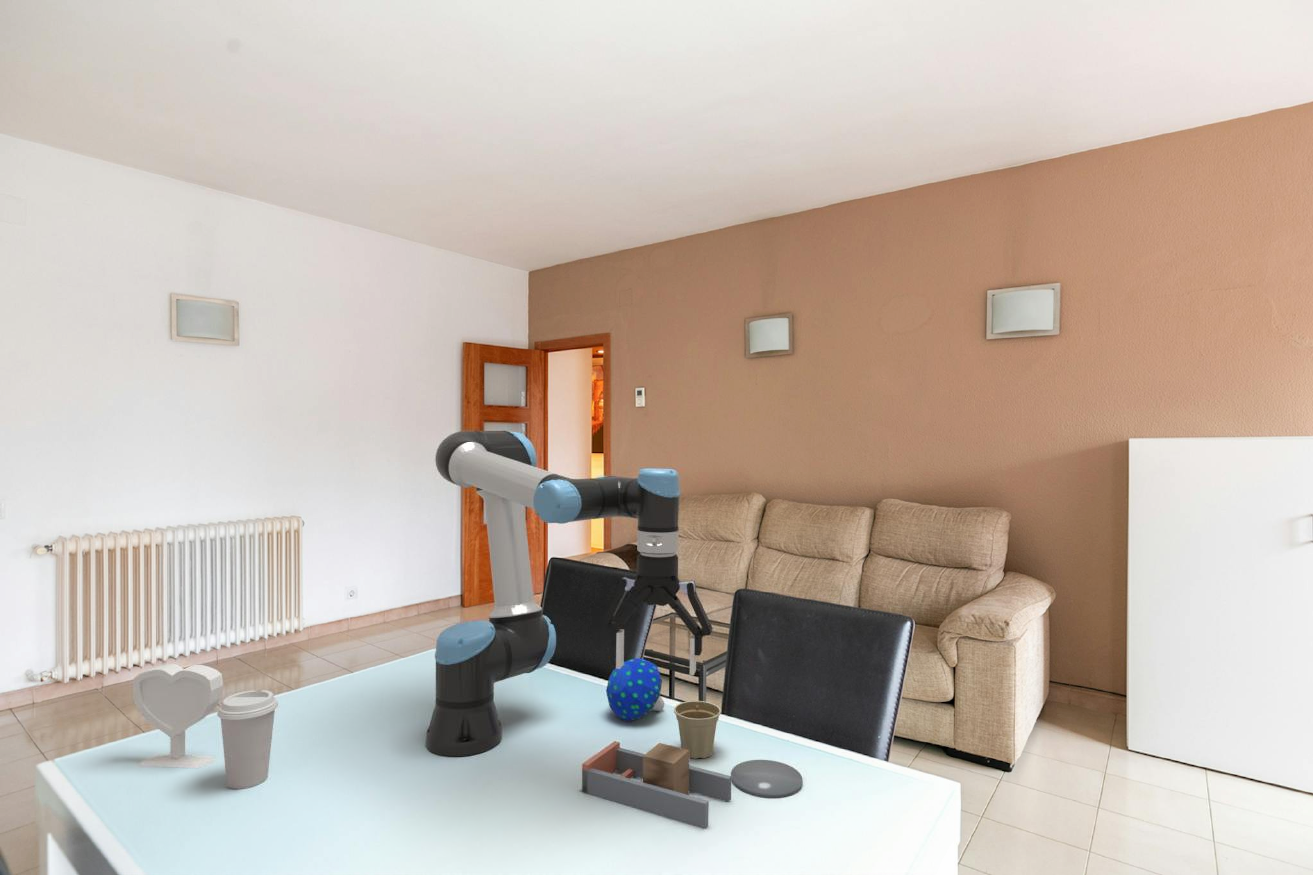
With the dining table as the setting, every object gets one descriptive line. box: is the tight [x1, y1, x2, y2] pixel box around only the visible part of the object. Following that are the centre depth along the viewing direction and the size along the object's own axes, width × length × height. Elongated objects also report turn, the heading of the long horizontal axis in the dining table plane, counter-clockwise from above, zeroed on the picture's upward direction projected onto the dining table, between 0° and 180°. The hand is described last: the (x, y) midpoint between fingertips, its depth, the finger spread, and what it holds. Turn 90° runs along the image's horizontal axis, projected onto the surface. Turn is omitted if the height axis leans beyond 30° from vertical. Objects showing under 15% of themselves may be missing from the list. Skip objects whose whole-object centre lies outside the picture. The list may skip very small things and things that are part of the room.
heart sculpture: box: [132, 663, 224, 769], centre depth 136 cm, size 16×5×18 cm, turn 87°
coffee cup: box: [216, 689, 279, 790], centre depth 129 cm, size 10×10×15 cm
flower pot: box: [673, 700, 722, 760], centre depth 142 cm, size 9×9×9 cm
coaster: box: [730, 759, 803, 799], centre depth 131 cm, size 13×13×1 cm
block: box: [642, 742, 690, 795], centre depth 124 cm, size 6×6×8 cm
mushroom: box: [605, 657, 665, 722], centre depth 161 cm, size 14×14×15 cm
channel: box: [581, 740, 732, 830], centre depth 125 cm, size 24×11×5 cm, turn 61°
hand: (655, 669), depth 130 cm, fingers open, 13 cm apart
